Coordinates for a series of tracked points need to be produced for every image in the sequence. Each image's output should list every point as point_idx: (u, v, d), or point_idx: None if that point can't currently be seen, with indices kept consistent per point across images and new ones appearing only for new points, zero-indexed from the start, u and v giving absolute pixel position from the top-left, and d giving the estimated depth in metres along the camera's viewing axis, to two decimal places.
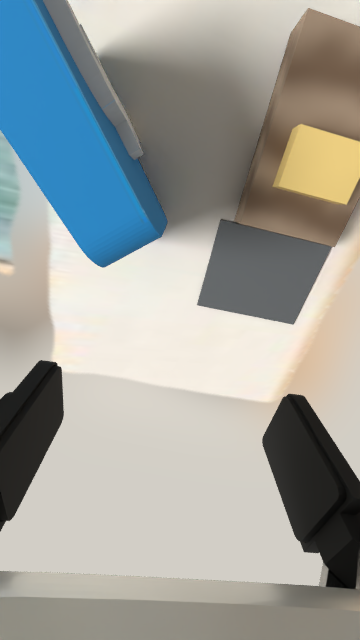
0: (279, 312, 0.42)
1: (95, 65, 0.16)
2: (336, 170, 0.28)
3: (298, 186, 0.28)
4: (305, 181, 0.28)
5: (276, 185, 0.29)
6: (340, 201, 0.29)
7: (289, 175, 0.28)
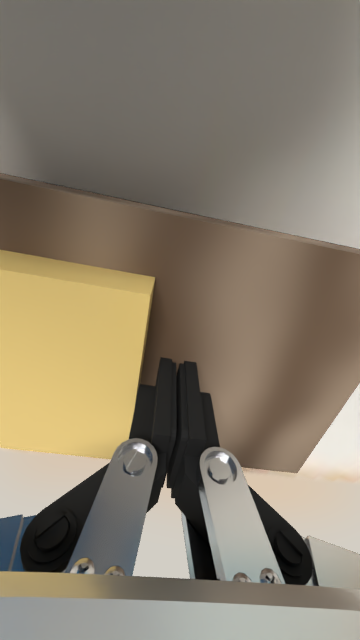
0: None
1: None
2: (62, 410, 0.10)
3: None
4: (10, 346, 0.09)
5: None
6: (1, 435, 0.11)
7: (6, 294, 0.08)
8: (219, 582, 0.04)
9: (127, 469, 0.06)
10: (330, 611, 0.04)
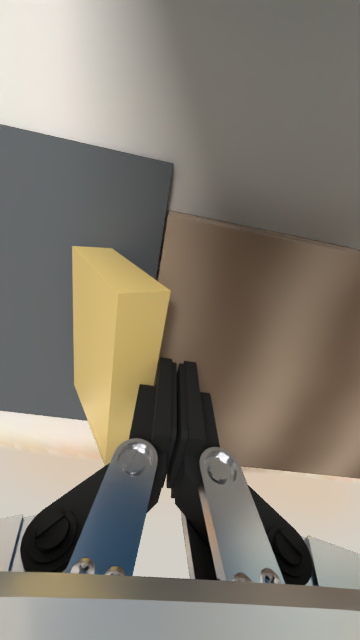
0: None
1: None
2: (88, 377, 0.12)
3: (75, 294, 0.12)
4: (78, 309, 0.12)
5: (88, 247, 0.12)
6: (74, 375, 0.15)
7: (79, 271, 0.11)
8: (219, 582, 0.04)
9: (127, 469, 0.06)
10: (330, 611, 0.04)
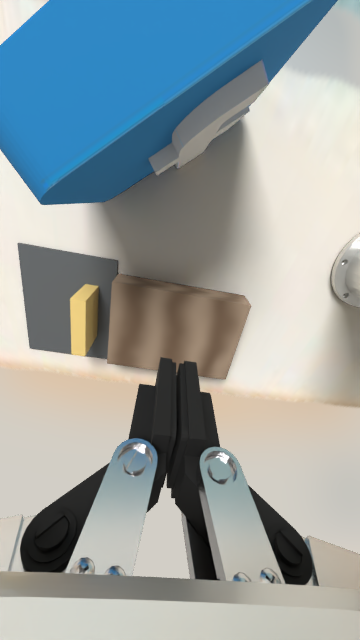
0: (38, 332, 0.40)
1: (203, 127, 0.16)
2: None
3: None
4: None
5: (90, 285, 0.37)
6: None
7: None
8: (219, 582, 0.04)
9: (127, 469, 0.06)
10: (330, 611, 0.04)
